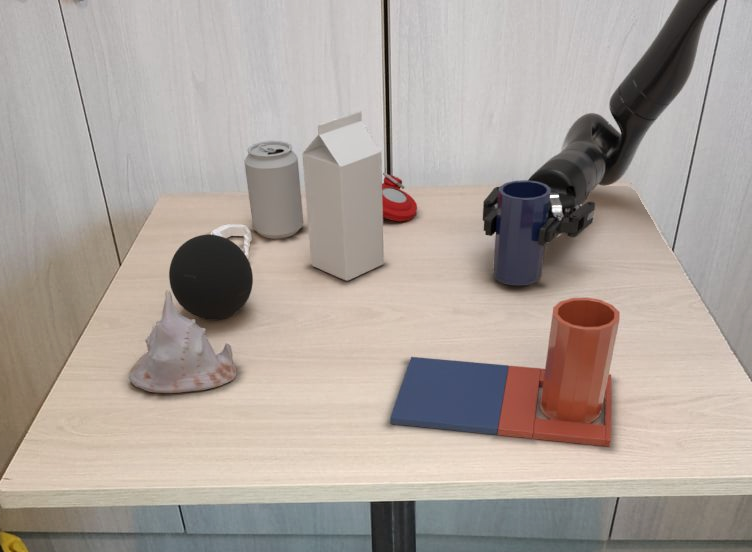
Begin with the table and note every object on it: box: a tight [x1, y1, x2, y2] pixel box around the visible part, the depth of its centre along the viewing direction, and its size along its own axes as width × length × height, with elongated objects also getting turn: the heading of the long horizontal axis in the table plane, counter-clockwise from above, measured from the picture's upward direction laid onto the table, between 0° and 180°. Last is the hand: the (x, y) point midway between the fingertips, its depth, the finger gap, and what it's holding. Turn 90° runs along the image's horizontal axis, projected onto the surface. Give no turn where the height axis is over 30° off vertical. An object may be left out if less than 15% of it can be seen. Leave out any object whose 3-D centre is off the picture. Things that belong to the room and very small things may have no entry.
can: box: [244, 140, 304, 240], centre depth 117 cm, size 8×8×12 cm
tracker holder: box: [382, 171, 418, 222], centre depth 124 cm, size 12×4×10 cm
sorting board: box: [389, 356, 612, 447], centre depth 86 cm, size 22×12×1 cm, turn 77°
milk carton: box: [301, 110, 385, 282], centre depth 105 cm, size 7×7×19 cm
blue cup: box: [492, 179, 551, 287], centre depth 102 cm, size 6×6×11 cm
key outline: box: [210, 223, 253, 260], centre depth 116 cm, size 13×5×2 cm, turn 23°
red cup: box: [539, 297, 621, 424], centre depth 81 cm, size 6×6×11 cm
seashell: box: [128, 289, 238, 394], centre depth 89 cm, size 10×12×9 cm
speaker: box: [168, 234, 254, 321], centre depth 98 cm, size 10×10×10 cm
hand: (514, 232), depth 99 cm, fingers closed on blue cup, 6 cm apart
